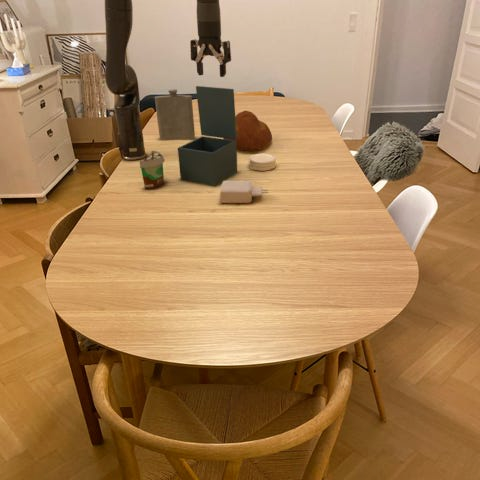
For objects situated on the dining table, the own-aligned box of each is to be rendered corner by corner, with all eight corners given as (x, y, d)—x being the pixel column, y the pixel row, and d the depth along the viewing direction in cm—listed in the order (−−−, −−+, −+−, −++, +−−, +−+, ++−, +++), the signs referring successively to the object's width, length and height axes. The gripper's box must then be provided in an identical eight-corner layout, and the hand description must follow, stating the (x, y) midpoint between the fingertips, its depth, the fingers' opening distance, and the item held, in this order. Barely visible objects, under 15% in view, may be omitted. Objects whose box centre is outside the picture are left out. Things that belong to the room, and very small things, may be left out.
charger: (267, 204, 149) (220, 204, 150) (268, 193, 156) (223, 193, 157) (268, 190, 146) (220, 189, 147) (268, 179, 153) (223, 179, 154)
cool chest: (215, 186, 163) (213, 153, 156) (180, 180, 169) (177, 147, 162) (237, 172, 173) (236, 140, 167) (204, 166, 179) (201, 136, 173)
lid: (232, 89, 156) (240, 85, 159) (195, 86, 161) (204, 82, 165) (235, 139, 166) (243, 134, 170) (201, 135, 172) (209, 130, 176)
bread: (224, 155, 189) (222, 123, 182) (222, 133, 216) (220, 104, 208) (276, 153, 190) (276, 121, 183) (267, 131, 216) (267, 102, 209)
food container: (160, 191, 160) (156, 162, 154) (143, 190, 161) (139, 161, 155) (171, 178, 170) (168, 150, 164) (155, 178, 171) (151, 150, 165)
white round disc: (243, 167, 177) (243, 158, 175) (261, 160, 183) (261, 151, 181) (264, 173, 172) (264, 163, 170) (281, 166, 178) (281, 156, 175)
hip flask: (159, 140, 210) (153, 91, 198) (160, 137, 213) (154, 89, 201) (194, 139, 209) (190, 90, 197) (195, 136, 212) (191, 88, 200)
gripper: (234, 18, 149) (235, 75, 159) (196, 17, 155) (199, 72, 164) (222, 20, 144) (224, 79, 154) (183, 19, 149) (187, 76, 159)
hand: (211, 75), depth 159 cm, fingers open, 8 cm apart
